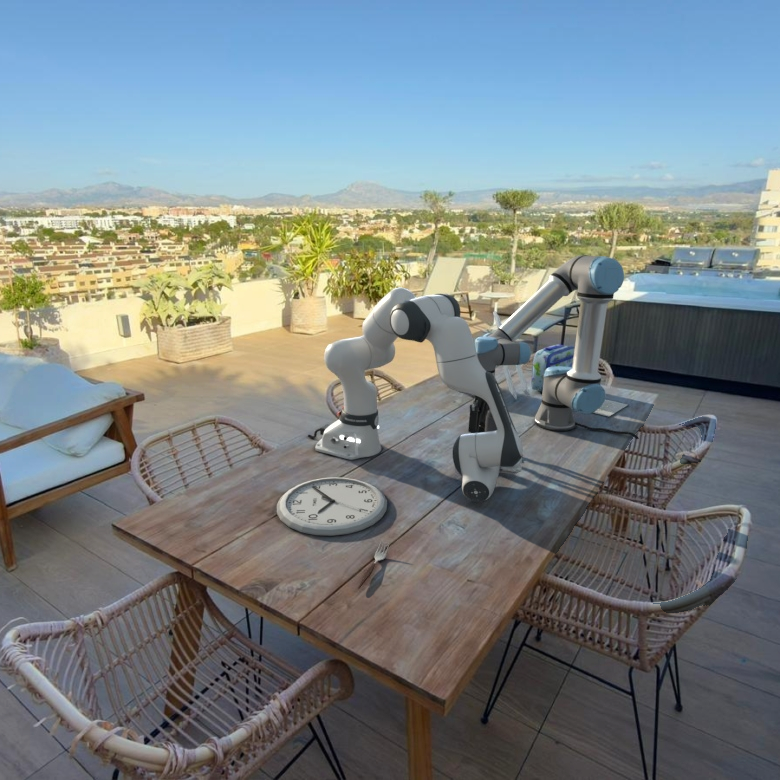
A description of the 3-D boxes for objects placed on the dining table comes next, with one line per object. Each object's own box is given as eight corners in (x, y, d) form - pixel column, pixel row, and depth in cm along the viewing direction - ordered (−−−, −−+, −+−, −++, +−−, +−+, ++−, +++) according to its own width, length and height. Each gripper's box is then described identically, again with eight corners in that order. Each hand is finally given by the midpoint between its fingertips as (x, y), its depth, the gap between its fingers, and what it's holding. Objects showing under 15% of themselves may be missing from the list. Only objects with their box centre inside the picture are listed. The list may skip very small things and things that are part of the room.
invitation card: (608, 416, 214) (573, 407, 224) (608, 416, 214) (573, 408, 224) (628, 404, 229) (594, 396, 238) (628, 405, 229) (594, 397, 238)
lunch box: (547, 397, 237) (552, 352, 231) (526, 391, 245) (531, 348, 238) (574, 386, 255) (580, 344, 249) (554, 381, 262) (559, 340, 256)
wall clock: (392, 527, 129) (268, 531, 127) (391, 533, 130) (269, 537, 127) (383, 473, 158) (282, 475, 155) (383, 478, 158) (282, 480, 156)
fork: (352, 589, 110) (352, 581, 109) (380, 547, 124) (380, 540, 123) (364, 592, 109) (364, 583, 108) (390, 550, 123) (390, 542, 123)
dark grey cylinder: (480, 470, 165) (485, 412, 159) (483, 464, 169) (487, 407, 163) (495, 472, 164) (499, 414, 158) (497, 466, 168) (502, 409, 162)
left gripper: (521, 463, 149) (525, 444, 161) (451, 452, 155) (459, 436, 167) (519, 482, 151) (523, 463, 163) (450, 472, 157) (458, 454, 169)
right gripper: (482, 375, 185) (477, 436, 192) (460, 387, 170) (456, 452, 177) (502, 379, 181) (496, 441, 188) (482, 391, 166) (476, 458, 173)
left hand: (490, 449), depth 165 cm, fingers closed on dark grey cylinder, 4 cm apart
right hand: (477, 446), depth 182 cm, fingers closed on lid, 5 cm apart
